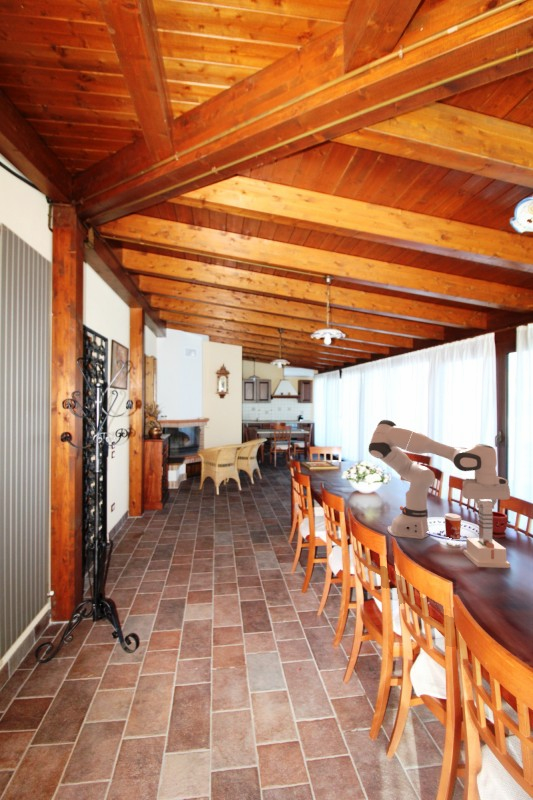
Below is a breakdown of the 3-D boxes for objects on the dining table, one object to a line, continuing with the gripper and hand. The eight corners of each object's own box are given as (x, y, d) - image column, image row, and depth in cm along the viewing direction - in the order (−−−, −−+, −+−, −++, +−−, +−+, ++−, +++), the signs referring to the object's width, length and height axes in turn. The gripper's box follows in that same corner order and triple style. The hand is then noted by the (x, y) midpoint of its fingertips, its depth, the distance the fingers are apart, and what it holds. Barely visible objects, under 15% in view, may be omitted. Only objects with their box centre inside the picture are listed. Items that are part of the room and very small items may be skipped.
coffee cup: (455, 548, 185) (454, 518, 185) (440, 542, 192) (440, 514, 192) (465, 545, 189) (465, 516, 189) (451, 539, 196) (450, 512, 196)
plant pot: (512, 540, 195) (512, 517, 195) (485, 538, 198) (485, 516, 198) (501, 531, 208) (501, 510, 208) (476, 529, 211) (476, 509, 211)
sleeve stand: (477, 566, 165) (477, 545, 165) (463, 553, 179) (463, 534, 179) (510, 567, 163) (510, 546, 163) (493, 554, 177) (493, 534, 177)
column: (483, 549, 169) (483, 502, 169) (478, 545, 173) (478, 499, 173) (493, 549, 169) (493, 502, 169) (488, 545, 173) (488, 499, 173)
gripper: (465, 480, 169) (465, 509, 169) (512, 480, 167) (512, 510, 167) (459, 477, 175) (459, 505, 175) (504, 477, 173) (504, 506, 173)
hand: (485, 508), depth 171 cm, fingers closed on column, 4 cm apart
